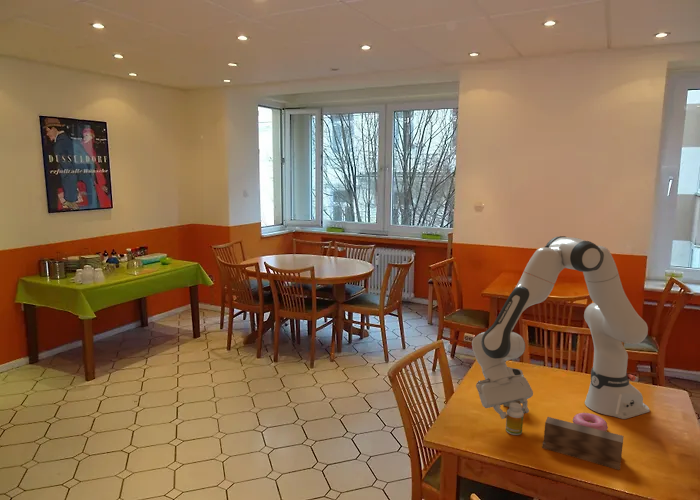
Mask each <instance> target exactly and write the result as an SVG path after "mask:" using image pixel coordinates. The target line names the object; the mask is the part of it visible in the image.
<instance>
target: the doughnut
mask: <svg viewBox="0 0 700 500" xmlns="http://www.w3.org/2000/svg"><path fill="white" fill-rule="evenodd" d="M572 423H575V424H578V425H582V426H586V427H590V428H594V429H598V430H602V431H606V432H608V431H607V430H608V428H609V426H608V423H607V422H606V420H605V419H604V418H602V417H601V416H599V415H596V414H594V413H589V412H580V413H576V414H575V415H574V417H573V418H572Z"/></svg>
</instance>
